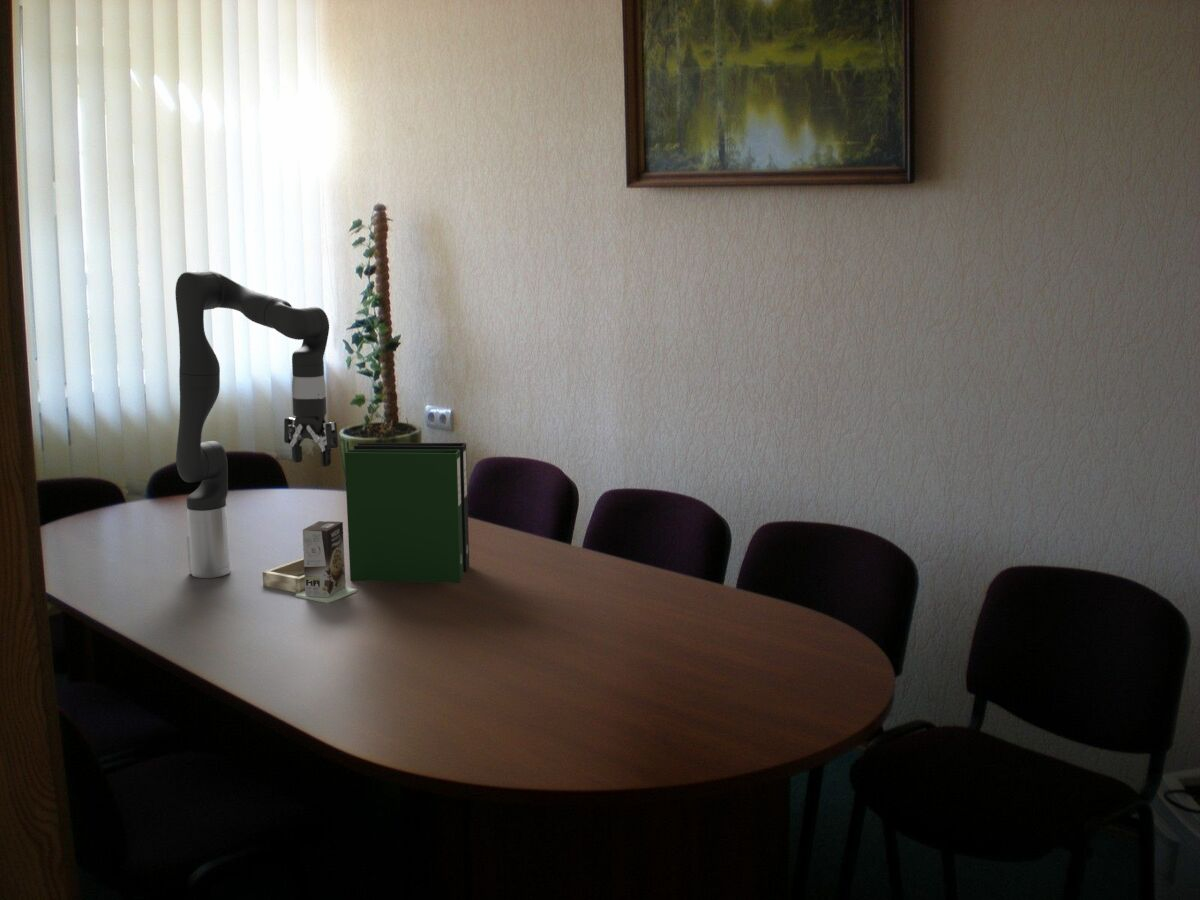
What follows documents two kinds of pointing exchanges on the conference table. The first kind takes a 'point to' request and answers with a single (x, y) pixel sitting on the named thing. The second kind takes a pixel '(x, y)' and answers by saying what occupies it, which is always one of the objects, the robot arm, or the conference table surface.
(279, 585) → the pocket frame
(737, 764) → the conference table surface
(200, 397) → the robot arm
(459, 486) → the binder
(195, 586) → the conference table surface
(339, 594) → the mat
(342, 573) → the coffee box
